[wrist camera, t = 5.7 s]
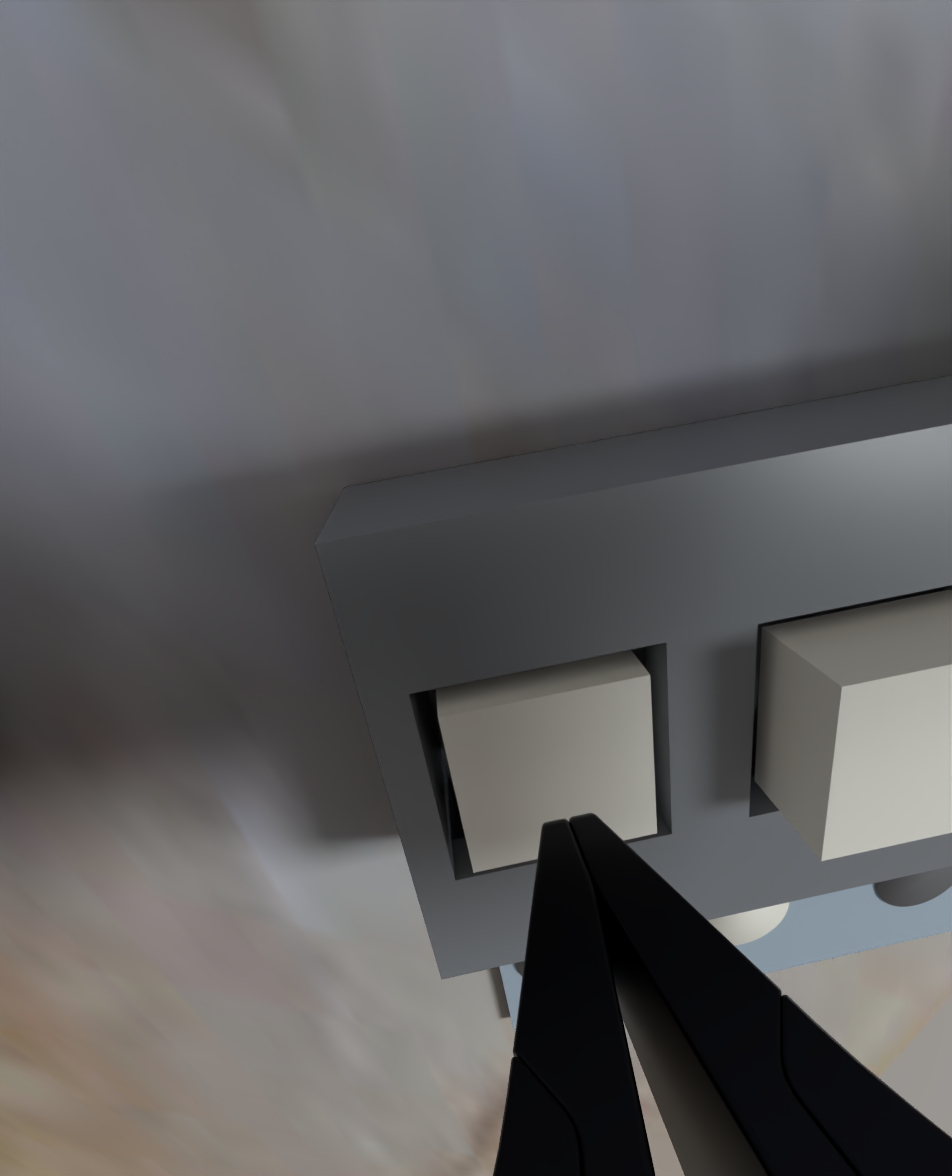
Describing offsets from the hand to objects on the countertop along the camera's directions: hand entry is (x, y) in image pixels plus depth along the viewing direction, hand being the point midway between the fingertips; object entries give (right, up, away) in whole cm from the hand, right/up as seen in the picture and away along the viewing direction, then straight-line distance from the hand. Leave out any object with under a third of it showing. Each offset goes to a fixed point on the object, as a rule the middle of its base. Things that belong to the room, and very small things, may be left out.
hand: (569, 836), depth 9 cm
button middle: (+6, +2, +2) cm, 6 cm away
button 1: (0, +1, +3) cm, 3 cm away
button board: (+5, +3, +5) cm, 8 cm away
